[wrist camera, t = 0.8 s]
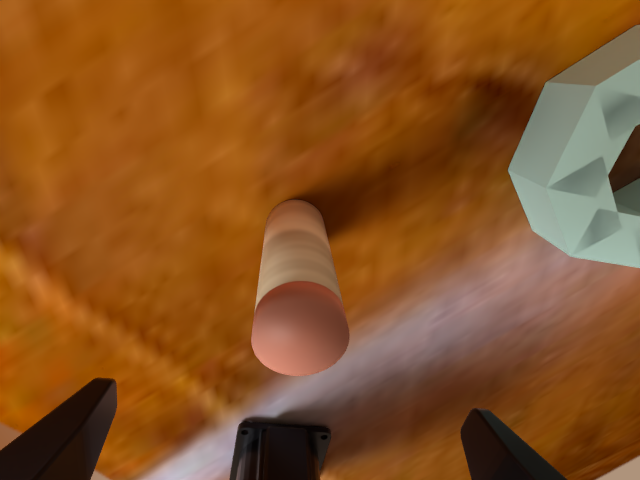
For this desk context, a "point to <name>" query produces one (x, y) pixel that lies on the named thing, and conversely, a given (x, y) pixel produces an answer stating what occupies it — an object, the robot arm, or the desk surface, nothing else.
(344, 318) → the beige cylindrical peg
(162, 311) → the desk surface
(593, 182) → the bead
